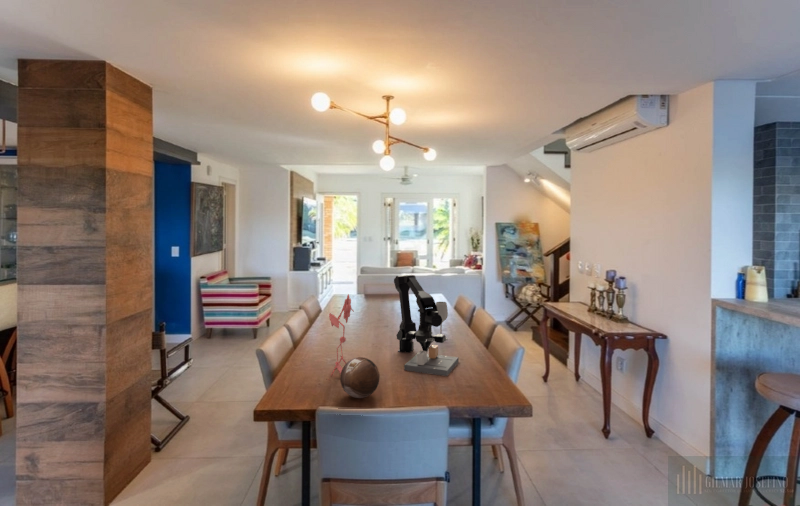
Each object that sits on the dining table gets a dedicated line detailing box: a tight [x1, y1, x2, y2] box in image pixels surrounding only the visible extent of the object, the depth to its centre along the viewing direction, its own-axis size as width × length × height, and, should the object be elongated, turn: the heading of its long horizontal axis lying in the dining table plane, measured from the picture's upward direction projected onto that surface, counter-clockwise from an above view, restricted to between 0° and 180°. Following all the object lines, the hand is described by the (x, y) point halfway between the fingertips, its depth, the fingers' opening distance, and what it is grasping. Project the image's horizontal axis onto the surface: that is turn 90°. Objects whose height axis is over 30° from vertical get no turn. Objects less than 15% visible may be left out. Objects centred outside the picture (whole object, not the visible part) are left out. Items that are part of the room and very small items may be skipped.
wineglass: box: [435, 301, 449, 340], centre depth 249 cm, size 8×8×21 cm
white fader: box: [416, 350, 428, 365], centre depth 197 cm, size 3×5×5 cm, turn 158°
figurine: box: [327, 293, 355, 381], centre depth 192 cm, size 15×26×35 cm, turn 175°
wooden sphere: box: [339, 356, 381, 399], centre depth 166 cm, size 15×15×15 cm
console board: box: [403, 353, 460, 377], centre depth 202 cm, size 20×20×3 cm
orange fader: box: [428, 344, 439, 359], centre depth 207 cm, size 3×5×5 cm, turn 158°
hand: (425, 354), depth 208 cm, fingers closed
